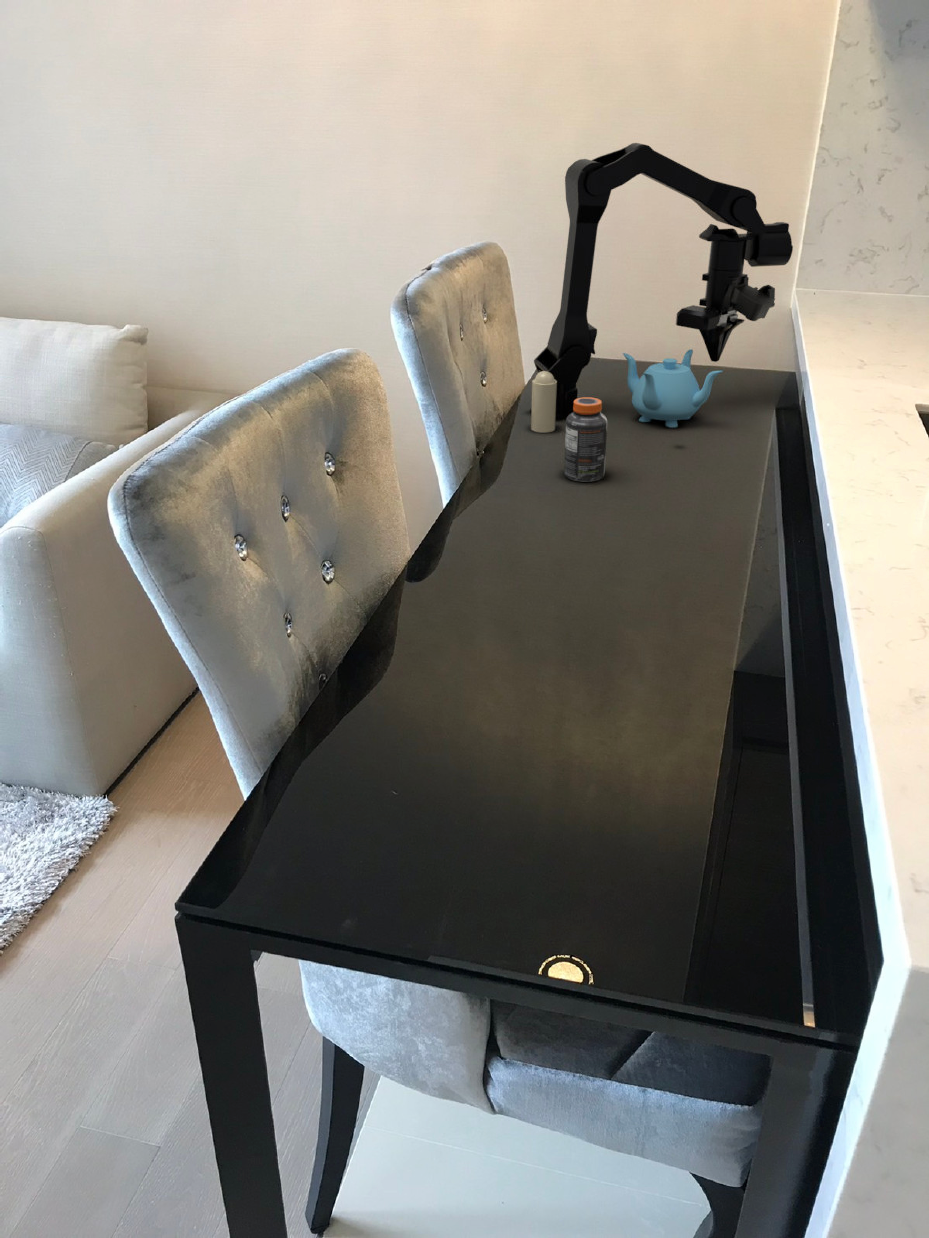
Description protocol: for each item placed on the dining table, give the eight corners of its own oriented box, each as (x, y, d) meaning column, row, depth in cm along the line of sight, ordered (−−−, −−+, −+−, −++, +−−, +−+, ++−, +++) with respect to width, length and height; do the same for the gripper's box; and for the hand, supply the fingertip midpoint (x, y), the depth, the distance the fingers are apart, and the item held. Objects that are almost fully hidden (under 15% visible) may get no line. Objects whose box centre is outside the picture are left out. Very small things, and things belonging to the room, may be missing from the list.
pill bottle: (608, 470, 149) (613, 396, 143) (599, 485, 144) (604, 408, 138) (569, 466, 150) (572, 392, 145) (559, 480, 145) (562, 404, 140)
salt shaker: (525, 429, 165) (527, 371, 161) (541, 423, 168) (543, 366, 163) (544, 434, 163) (546, 376, 158) (560, 428, 165) (562, 371, 161)
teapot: (618, 409, 174) (621, 351, 169) (690, 405, 176) (696, 347, 171) (639, 433, 163) (644, 372, 158) (717, 428, 165) (724, 367, 160)
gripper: (739, 282, 156) (726, 381, 164) (797, 266, 168) (783, 359, 175) (678, 273, 163) (669, 368, 171) (738, 258, 175) (727, 348, 182)
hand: (714, 361), depth 175 cm, fingers closed
